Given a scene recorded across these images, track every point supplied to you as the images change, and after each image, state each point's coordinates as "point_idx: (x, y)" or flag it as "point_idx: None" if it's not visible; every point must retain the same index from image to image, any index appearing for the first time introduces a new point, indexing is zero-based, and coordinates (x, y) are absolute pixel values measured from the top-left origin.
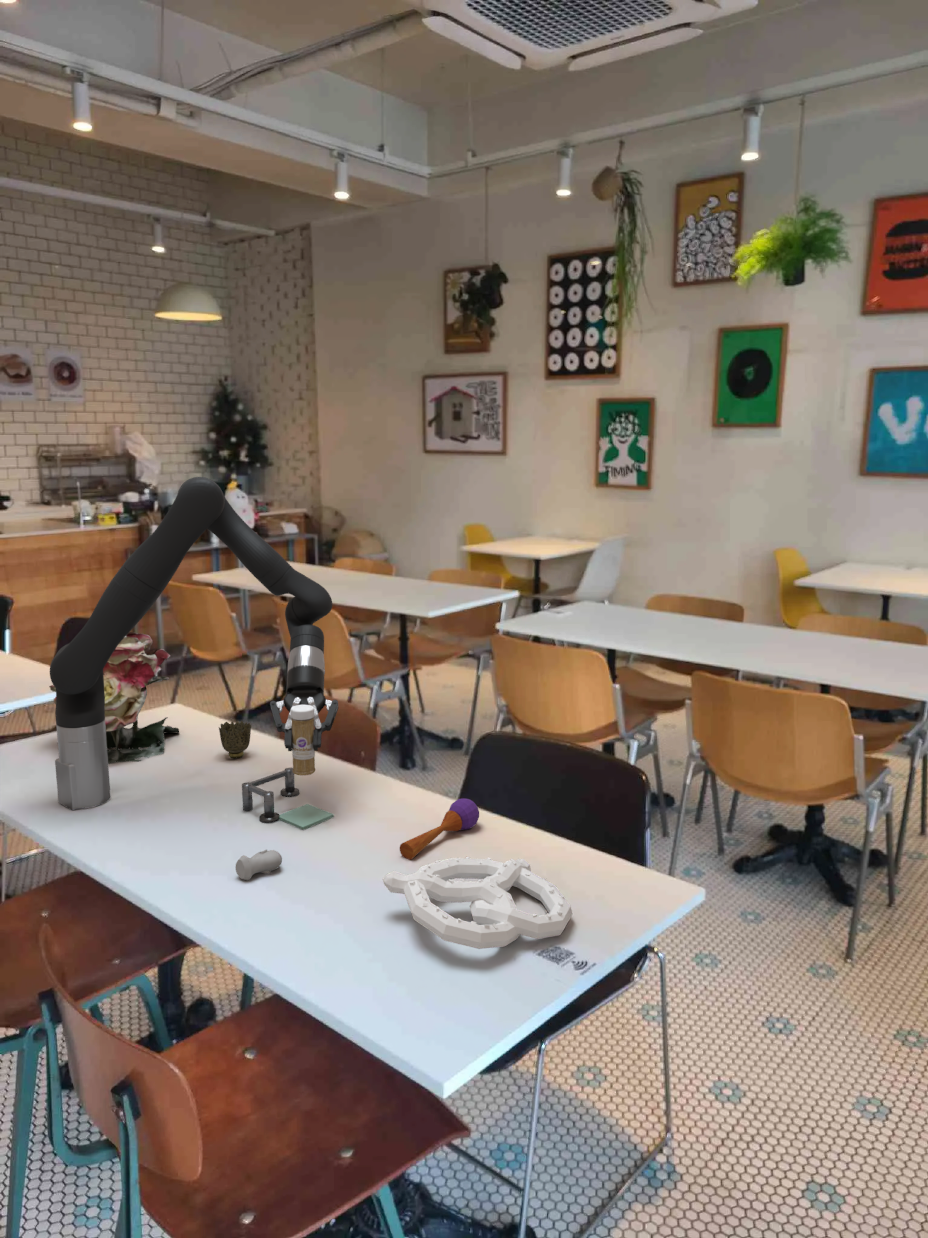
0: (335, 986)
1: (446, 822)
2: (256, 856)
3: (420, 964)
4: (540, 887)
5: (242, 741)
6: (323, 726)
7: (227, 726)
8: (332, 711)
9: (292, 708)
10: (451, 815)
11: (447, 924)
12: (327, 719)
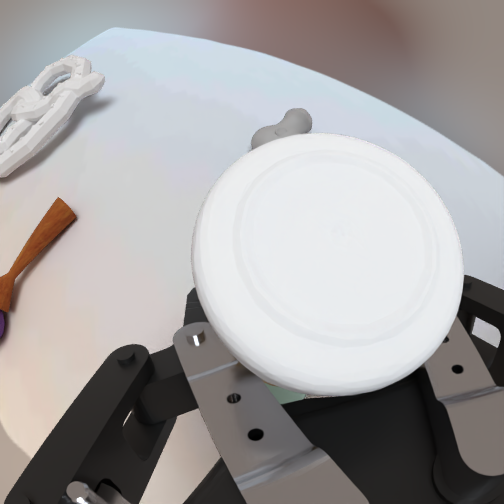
0: (161, 43)
1: (1, 277)
2: (287, 125)
3: (100, 69)
4: None
5: None
6: (164, 357)
7: None
8: (66, 434)
9: (431, 192)
10: None
11: (71, 55)
12: (120, 376)
